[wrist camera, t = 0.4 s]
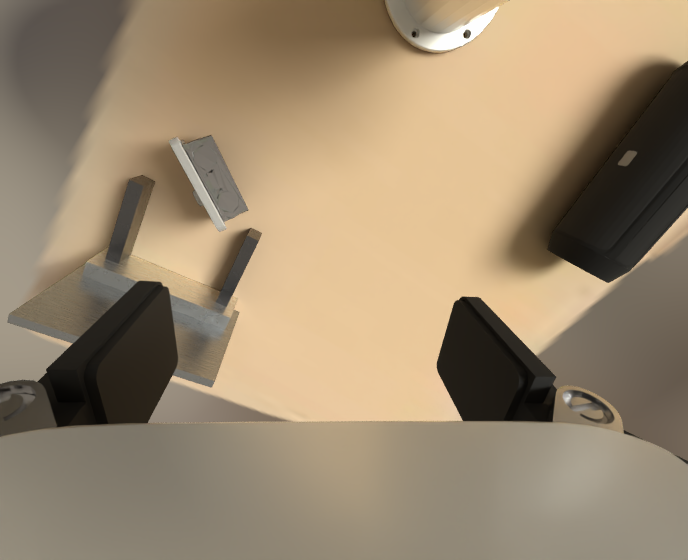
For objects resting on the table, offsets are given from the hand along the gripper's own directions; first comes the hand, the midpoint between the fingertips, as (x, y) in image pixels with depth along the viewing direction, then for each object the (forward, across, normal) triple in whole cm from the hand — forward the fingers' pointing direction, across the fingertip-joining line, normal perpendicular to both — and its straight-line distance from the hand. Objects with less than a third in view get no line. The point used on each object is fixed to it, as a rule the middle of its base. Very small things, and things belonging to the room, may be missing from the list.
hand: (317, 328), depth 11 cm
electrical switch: (+33, +11, +1) cm, 35 cm away
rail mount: (+33, +15, +10) cm, 38 cm away
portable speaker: (+33, -40, -4) cm, 52 cm away
